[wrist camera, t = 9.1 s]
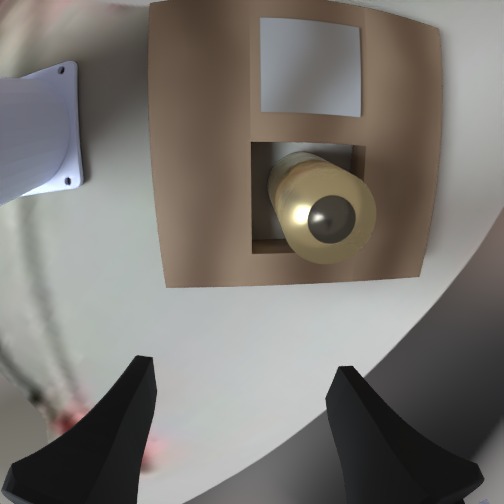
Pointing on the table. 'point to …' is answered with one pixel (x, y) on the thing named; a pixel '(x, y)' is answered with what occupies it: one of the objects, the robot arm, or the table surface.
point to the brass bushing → (321, 208)
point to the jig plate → (288, 130)
